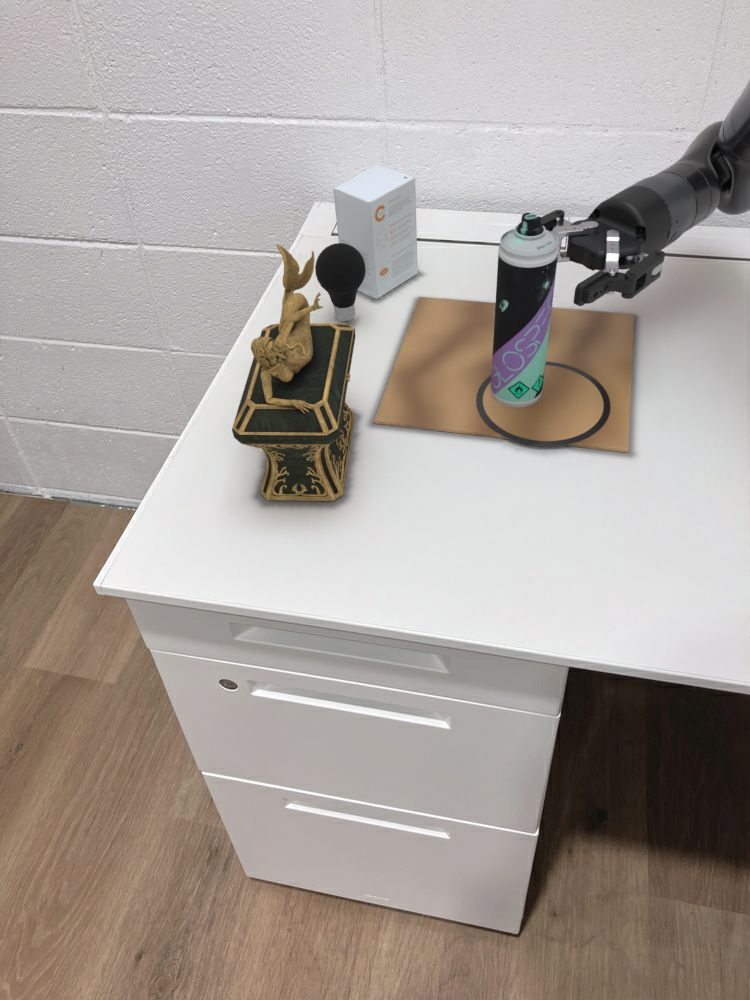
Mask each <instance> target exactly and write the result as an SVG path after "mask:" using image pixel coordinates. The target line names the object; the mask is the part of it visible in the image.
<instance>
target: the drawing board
mask: <svg viewBox="0 0 750 1000" xmlns="http://www.w3.org/2000/svg"><path fill="white" fill-rule="evenodd" d="M417 299H418V300H417V301H416V305H415V307H414V311H413V313H412V315H411V319H410V321H409V323H408V327H407V329H406V332H405V335H404V338H403V341H402V343H401V346H400V349H399V351H398V354H397V357H396V359H395V363H394V365H393V368H392V371H391V374H390V376H389V379H388V381H387V384H386V387H385V390H384V393H383V394H382V395H383V396H382V398H381V401H380V403H379V406H378V409H377V412H376V414H375V417H374V420H373V422H374V424H375V425H376V424H377V425H384V426H385V425H386V426H393V427H394V426H395V427H403V428H409V429H419V430H420V429H421V430H429V431H437V432H444V433H445V432H446V433H455V434H465V435H472V436H481V437H489V438H490V437H491V438H496V439H497V438H498V439H506V440H511V441H514V442H515V443H519V444H523V445H527V446H535V447H562V446H568V447H576V448H583V449H585V448H586V449H592V450H593V449H595V450H603V451H609V452H610V451H611V452H620V453H629V451H630V450H629V449H630V428H631V427H630V424H631V400H632V376H633V375H632V374H633V353H634V352H633V351H634V349H633V348H634V328H635V327H634V326H635V323H634V322H635V314H634V313H627V312H626V313H625V312H614V311H613V312H612V311H598V310H590V309H589V310H586V309H575V308H562V307H552V310H551V319H550V328H549V336H548V345H547V354H546V362H545V371H544V379H543V388H542V394H541V397H540V398H539V400H538V401H537V402H535V403H533V404H531V405H529V406H525V407H509V406H506V405H503V404H501V403H499V402H497V401H496V400H495V399H494V398H493V396H492V394H491V374H492V357H493V339H494V321H495V304H496V302H488V301H478V300H477V301H475V300H464V299H463V300H462V299H451V298H450V299H449V298H438V297H426V296H425V297H424V296H419V297H418V298H417Z"/></svg>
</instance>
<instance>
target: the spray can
mask: <svg viewBox="0 0 750 1000" xmlns="http://www.w3.org/2000/svg"><path fill="white" fill-rule="evenodd" d="M541 217H542V216H540V215H537V214H534V213H531V212H524V213H523V214H522V215H521V221H520V222H519V223H518V224H517V225H516V226H515V227H514V228H513V229H510V230H508V231H506V232H504V233H503V234H502V235H501V236H500V240H499V245H498V254H497V267H496V268H497V269H496V270H497V271H496V286H495V287H496V289H495V303H496V304H495V321H494V339H493V357H492V374H491V394H492V396H493V398H494V399H495V400H496V401H497V402H499V403H501V404H503V405H506V406H509V407H525V406H529V405H531V404H533V403H535V402H537V401H538V400H539V398H540V397H541V394H542V388H543V379H544V371H545V362H546V354H547V345H548V336H549V328H550V319H551V310H552V308H553V301H554V293H555V285H556V276H557V275H556V274H557V266H558V262H557V259H558V239H557V237H556V236H555V235H554V234H553V233H552V232H550V231H548V230H546V229H545V227H544V226H543V225H542V223H541Z"/></svg>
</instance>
